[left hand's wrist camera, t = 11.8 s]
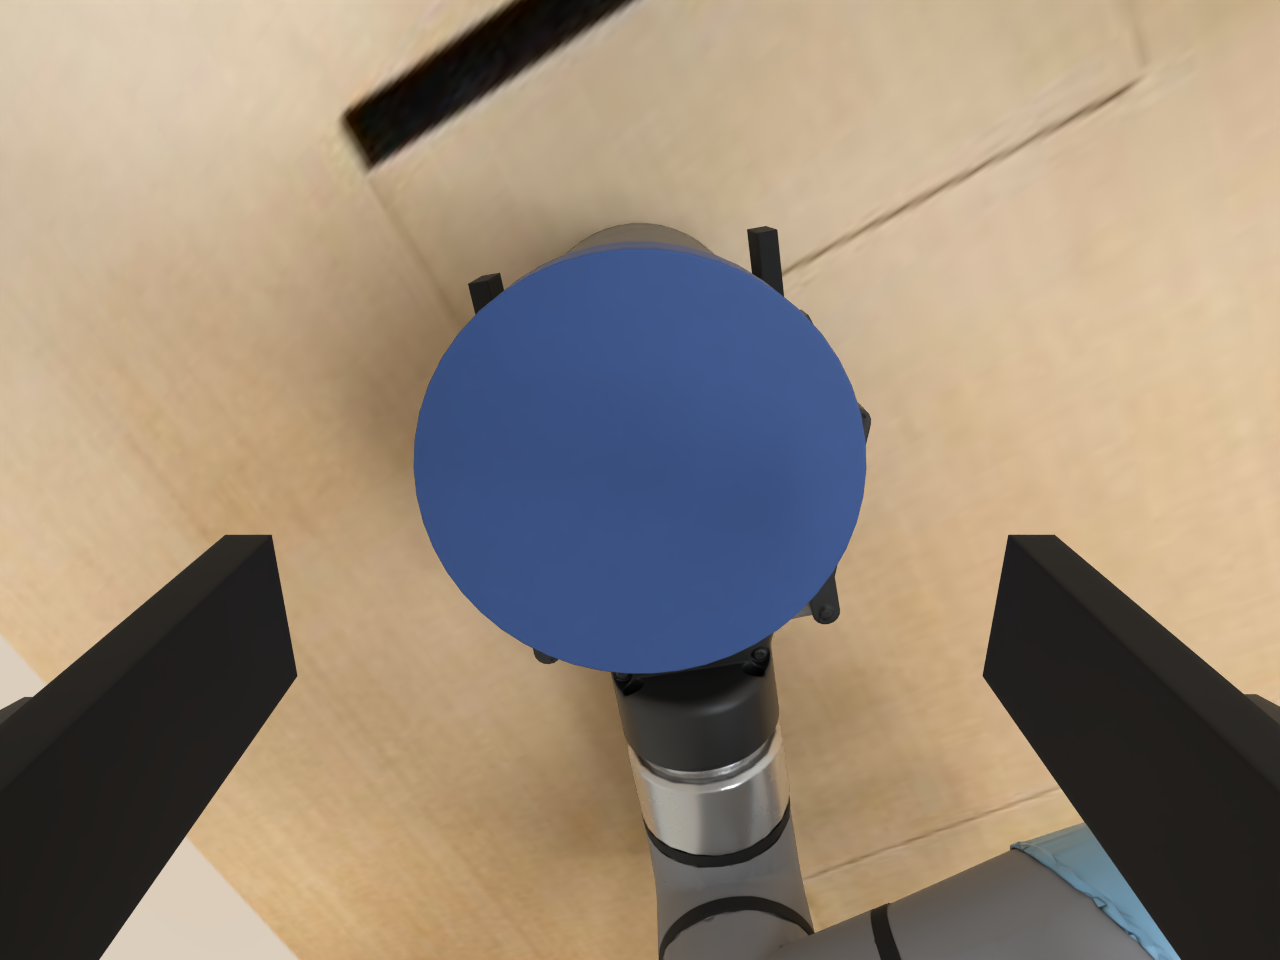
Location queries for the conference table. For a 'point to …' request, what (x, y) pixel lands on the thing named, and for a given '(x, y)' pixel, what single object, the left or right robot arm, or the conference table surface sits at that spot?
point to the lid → (640, 459)
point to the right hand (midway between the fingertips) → (621, 253)
